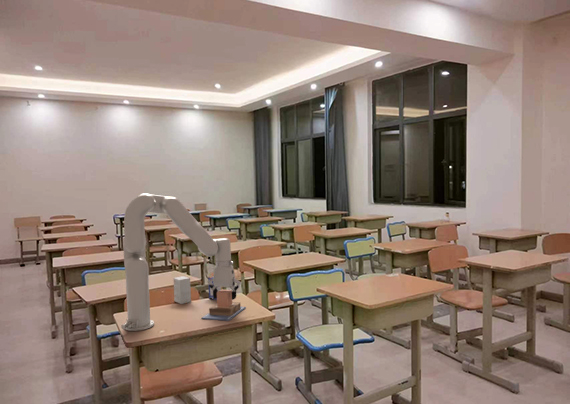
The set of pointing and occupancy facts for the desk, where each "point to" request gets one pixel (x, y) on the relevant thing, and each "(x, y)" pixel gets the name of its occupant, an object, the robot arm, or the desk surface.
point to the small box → (182, 290)
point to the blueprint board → (222, 316)
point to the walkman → (212, 291)
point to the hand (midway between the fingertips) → (224, 298)
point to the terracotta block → (224, 298)
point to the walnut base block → (224, 309)
